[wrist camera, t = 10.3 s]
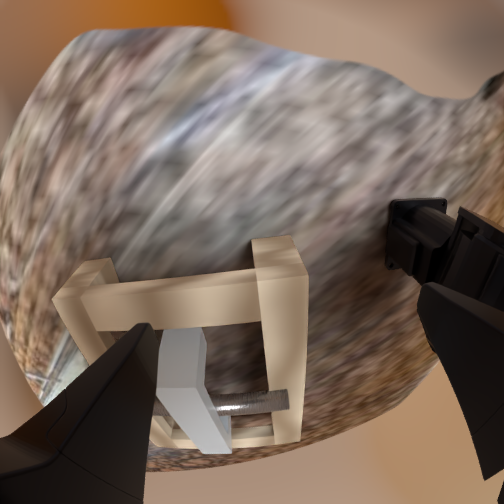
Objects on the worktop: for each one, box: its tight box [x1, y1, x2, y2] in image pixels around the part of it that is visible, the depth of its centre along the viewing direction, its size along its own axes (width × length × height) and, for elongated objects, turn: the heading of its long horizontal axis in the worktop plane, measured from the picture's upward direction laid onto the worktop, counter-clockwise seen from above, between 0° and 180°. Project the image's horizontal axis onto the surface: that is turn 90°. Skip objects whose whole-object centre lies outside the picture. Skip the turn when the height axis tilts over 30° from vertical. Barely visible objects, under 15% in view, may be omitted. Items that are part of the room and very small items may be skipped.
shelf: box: [52, 235, 309, 449], centre depth 23 cm, size 18×24×6 cm
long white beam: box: [156, 327, 232, 454], centre depth 20 cm, size 3×14×6 cm, turn 6°
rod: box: [152, 389, 290, 416], centre depth 20 cm, size 15×2×2 cm, turn 96°
